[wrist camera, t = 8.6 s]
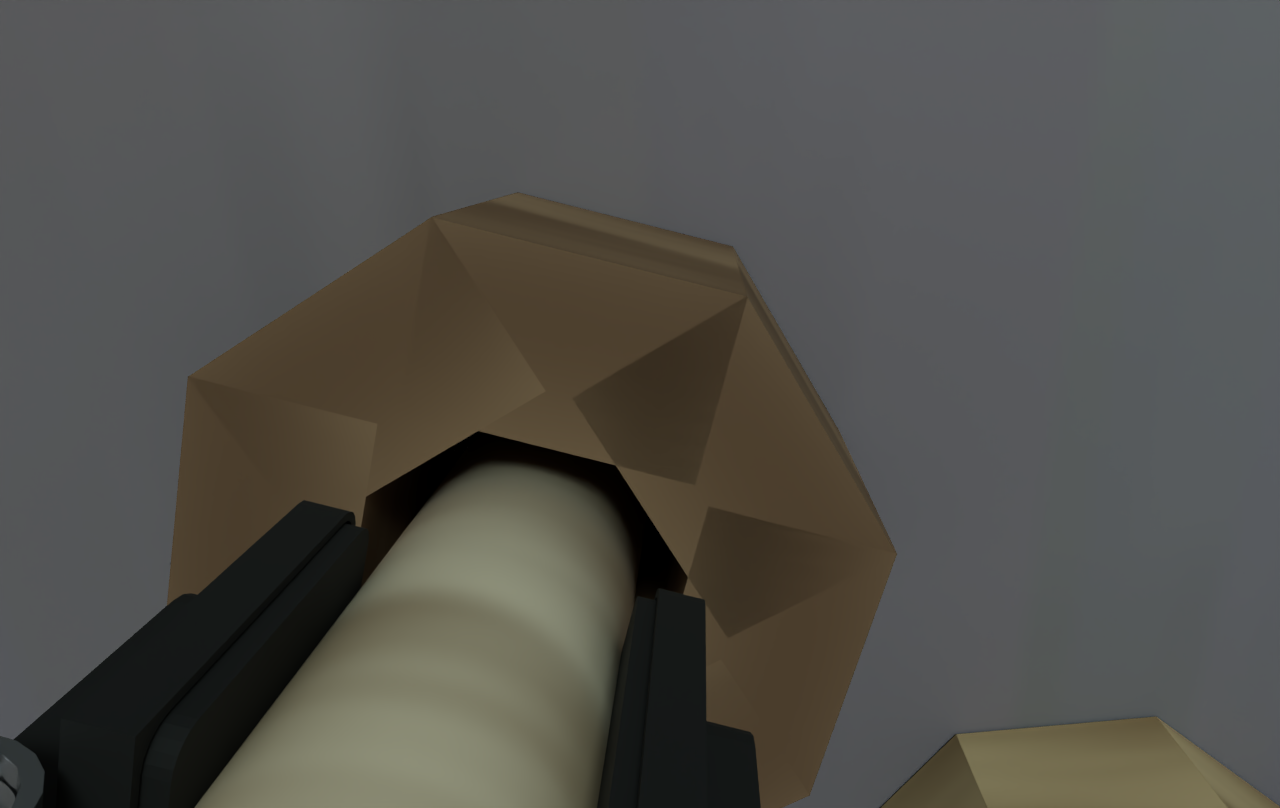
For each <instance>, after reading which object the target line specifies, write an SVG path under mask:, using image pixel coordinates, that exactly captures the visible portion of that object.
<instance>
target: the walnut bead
mask: <svg viewBox="0 0 1280 808" xmlns="http://www.w3.org/2000/svg"><path fill="white" fill-rule="evenodd" d="M477 431H480V432H484V433H488V434H492V435H496V436H500V437H504V438H508V439H512V440H516V441H520V442H524V443H528V444H532V445H536V446H540V447H544V448H548V449H552V450H556V451H560V452H564V453H568V454H572V455H576V456H580V457H584V458H588V459H592V460H596V461H600V462H604V463H608V464H612V465H616V467H617V468H618V470H619V471H620V473H621V474H622V476H623V477H624V479H625V480H626V482H627V484H628V485H629V487H630V488H631V490H632V491H633V493H634V494H635V496H636V497H637V499H638V501H639V502H640V504H641V505H642V507H643V508H644V510H645V511H646V513H647V514H648V516H649V518H650V519H651V521H652V522H653V524H654V525H655V527H656V528H657V530H658V531H659V533H660V535H661V537H659V538H657V539H655V540H653V541H651V542H649V543H648V544H646V545H644V546H642V552H641V559H640V566H639V573H638V580H637V587H636V594H635V601H636V598H637V596H640V597H644V598H648V599H652V600H654V598H655V595H656V592H657V590H658V588H660V589H664V590H668V591H672V592H676V593H680V594H684V595H688V596H692V597H696V598H700V599H704V600H705V604H706V720H707V721H709V722H713V723H717V724H721V725H725V726H729V727H733V728H737V729H741V730H745V731H749V732H751V733H752V734H753V736H754V741H755V748H756V759H757V770H758V781H759V792H760V804H761V808H782V807H785V806H787V805H789V804H791V803H794V802H796V801H798V800H800V799H803V798H805V797H807V796H809V795H810V792H811V790H812V787H813V784H814V781H815V779H816V776H817V773H818V770H819V768H820V765H821V762H822V759H823V757H824V754H825V751H826V748H827V746H828V743H829V740H830V737H831V735H832V732H833V729H834V726H835V723H836V721H837V718H838V715H839V712H840V710H841V707H842V704H843V701H844V699H845V696H846V693H847V690H848V688H849V685H850V682H851V679H852V677H853V674H854V671H855V668H856V665H857V663H858V660H859V657H860V654H861V652H862V649H863V646H864V643H865V641H866V638H867V635H868V632H869V630H870V627H871V624H872V621H873V619H874V616H875V613H876V610H877V607H878V605H879V602H880V599H881V596H882V594H883V591H884V588H885V585H886V583H887V580H888V577H889V574H890V572H891V569H892V566H893V563H894V561H895V558H896V555H897V553H896V551H895V549H894V546H893V544H892V542H891V540H890V538H889V536H888V534H887V532H886V529H885V527H884V525H883V523H882V521H881V519H880V517H879V515H878V512H877V510H876V508H875V506H874V504H873V502H872V500H871V498H870V496H869V493H868V491H867V489H866V487H865V485H864V483H863V481H862V479H861V476H860V474H859V472H858V470H857V468H856V466H855V464H854V462H853V459H852V457H851V455H850V453H849V451H848V449H847V447H846V445H845V442H844V440H843V438H842V436H841V434H840V432H839V430H838V428H837V427H836V425H835V423H834V421H833V420H832V418H831V416H830V414H829V413H828V411H827V409H826V407H825V406H824V404H823V402H822V401H821V399H820V397H819V395H818V394H817V392H816V390H815V388H814V387H813V385H812V383H811V381H810V380H809V378H808V376H807V375H806V373H805V371H804V369H803V368H802V366H801V364H800V362H799V361H798V359H797V357H796V355H795V354H794V352H793V350H792V348H791V347H790V345H789V343H788V342H787V340H786V338H785V336H784V335H783V333H782V331H781V329H780V328H779V326H778V324H777V322H776V321H775V319H774V317H773V316H772V314H771V312H770V310H769V309H768V307H767V305H766V303H765V302H764V300H763V298H762V296H761V295H760V293H759V291H758V290H757V288H756V286H755V284H754V283H753V281H752V279H751V277H750V276H749V274H748V272H747V270H746V269H745V267H744V265H743V264H742V262H741V260H740V258H739V257H738V255H737V253H736V251H735V250H734V248H733V246H728V245H724V244H720V243H716V242H713V241H709V240H705V239H701V238H697V237H693V236H689V235H685V234H681V233H677V232H673V231H669V230H665V229H661V228H657V227H653V226H649V225H645V224H641V223H637V222H633V221H629V220H625V219H621V218H617V217H613V216H609V215H605V214H601V213H597V212H593V211H589V210H585V209H581V208H577V207H573V206H569V205H565V204H561V203H558V202H554V201H550V200H546V199H542V198H538V197H534V196H530V195H526V194H522V193H514V194H511V195H507V196H503V197H500V198H496V199H493V200H489V201H486V202H482V203H479V204H475V205H472V206H468V207H465V208H461V209H458V210H454V211H451V212H447V213H444V214H440V215H437V216H433V217H431V218H430V219H428V220H427V221H425V222H424V223H422V224H421V225H419V226H417V227H416V228H414V229H413V230H411V231H410V232H408V233H407V234H405V235H404V236H402V237H401V238H399V239H398V240H396V241H395V242H393V243H392V244H390V245H388V246H387V247H385V248H384V249H382V250H381V251H379V252H378V253H376V254H375V255H373V256H372V257H370V258H369V259H367V260H366V261H364V262H363V263H361V264H359V265H358V266H356V267H355V268H353V269H352V270H350V271H349V272H347V273H346V274H344V275H343V276H341V277H340V278H338V279H337V280H335V281H334V282H332V283H330V284H329V285H327V286H326V287H324V288H323V289H321V290H320V291H318V292H317V293H315V294H314V295H312V296H311V297H309V298H308V299H306V300H305V301H303V302H301V303H300V304H298V305H297V306H295V307H294V308H292V309H291V310H289V311H288V312H286V313H285V314H283V315H282V316H280V317H279V318H277V319H276V320H274V321H272V322H271V323H269V324H268V325H266V326H265V327H263V328H262V329H260V330H259V331H257V332H256V333H254V334H253V335H251V336H250V337H248V338H247V339H245V340H243V341H242V342H240V343H239V344H237V345H236V346H234V347H233V348H231V349H230V350H228V351H227V352H225V353H224V354H222V355H221V356H219V357H218V358H216V359H214V360H213V361H211V362H210V363H208V364H207V365H205V366H204V367H202V368H201V369H199V370H198V371H196V372H195V373H193V374H192V375H190V376H188V382H187V393H186V404H185V414H184V425H183V436H182V447H181V458H180V469H179V480H178V491H177V502H176V513H175V524H174V535H173V546H172V557H171V568H170V579H169V590H168V601H167V605H168V604H170V603H171V602H172V601H173V600H175V599H176V598H178V597H179V596H181V595H182V594H189V593H193V594H197V595H198V594H199V593H200V592H201V591H202V590H203V589H204V588H206V587H207V586H208V585H209V584H210V583H211V582H212V581H213V580H214V579H216V578H217V577H218V576H219V575H220V574H221V573H222V572H223V571H224V570H225V569H227V568H228V567H229V566H230V565H231V564H232V563H233V562H234V561H235V560H237V559H238V558H239V557H240V556H241V555H242V554H243V553H244V552H245V551H247V550H248V549H249V548H250V547H251V546H252V545H253V544H254V543H255V542H256V541H258V540H259V539H260V538H261V537H262V536H263V535H264V534H265V533H266V532H268V531H269V530H270V529H271V528H272V527H273V526H274V525H275V524H276V523H278V522H279V521H280V520H281V519H282V518H283V517H284V516H285V515H286V514H287V513H289V512H290V511H291V510H292V509H293V508H294V507H295V506H296V505H297V504H299V503H300V502H302V501H303V500H306V501H311V502H315V503H319V504H323V505H327V506H331V507H335V508H339V509H343V510H347V511H351V512H353V513H354V515H355V520H356V525H355V526H358V527H362V528H366V529H368V531H369V540H368V548H367V554H366V560H365V566H364V572H363V578H362V584H361V587H362V586H363V584H364V583H365V582H366V581H367V579H368V578H369V577H370V575H371V574H372V573H373V571H374V570H375V569H376V567H377V566H378V565H379V563H380V562H381V561H382V559H383V558H384V557H385V555H386V554H387V553H388V552H389V550H390V549H391V548H392V546H393V545H394V544H395V542H396V541H397V540H398V538H399V537H400V536H401V534H402V533H403V532H404V530H405V529H406V528H407V526H408V525H409V524H410V523H411V521H412V520H413V519H414V517H415V516H416V515H417V513H418V512H419V511H420V509H421V508H422V507H423V505H424V504H425V503H426V501H427V500H428V499H429V497H430V496H431V495H432V494H433V492H434V491H435V490H436V488H437V487H438V486H439V484H440V483H441V482H442V480H443V479H444V478H445V476H446V475H447V474H448V472H449V471H450V470H451V468H452V463H453V457H454V452H455V447H456V444H457V443H458V442H460V441H462V440H463V439H465V438H467V437H469V436H470V435H472V434H474V433H475V432H477ZM635 601H634V604H635Z"/></svg>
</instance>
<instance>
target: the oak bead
mask: <svg viewBox="0 0 1280 808" xmlns="http://www.w3.org/2000/svg"><path fill="white" fill-rule="evenodd" d="M881 808H1280V806H1278V805H1277V804H1275V803H1274V802H1273V801H1271V800H1270V799H1269V798H1267V797H1266V796H1264V795H1263V794H1262V793H1260V792H1259V791H1258V790H1256V789H1255V788H1253V787H1252V786H1251V785H1249V784H1248V783H1247V782H1245V781H1244V780H1242V779H1241V778H1240V777H1238V776H1237V775H1236V774H1234V773H1233V772H1231V771H1230V770H1229V769H1227V768H1226V767H1225V766H1223V765H1222V764H1221V763H1219V762H1218V761H1216V760H1215V759H1214V758H1212V757H1211V756H1210V755H1208V754H1207V753H1205V752H1204V751H1203V750H1201V749H1200V748H1199V747H1197V746H1196V745H1194V744H1193V743H1192V742H1190V741H1189V740H1188V739H1186V738H1185V737H1183V736H1182V735H1181V734H1179V733H1178V732H1177V731H1175V730H1174V729H1172V728H1171V727H1170V726H1168V725H1167V724H1166V723H1164V722H1163V721H1162V720H1160V719H1159V718H1157V717H1146V718H1135V719H1123V720H1112V721H1101V722H1089V723H1078V724H1067V725H1056V726H1044V727H1033V728H1022V729H1010V730H999V731H988V732H976V733H965V734H956V735H955V736H954V737H953V738H952V739H951V740H950V741H949V742H948V743H947V744H946V745H945V746H944V747H943V748H942V749H940V750H939V751H938V752H937V753H936V754H935V755H934V756H933V757H932V758H931V759H930V760H929V761H928V762H927V763H926V764H925V765H924V766H923V767H922V768H921V769H920V770H919V771H918V772H917V773H916V774H915V775H914V776H913V777H912V778H911V779H910V780H909V781H908V782H907V783H906V784H905V785H904V786H902V787H901V788H900V789H899V790H898V791H897V792H896V793H895V794H894V795H893V796H892V797H891V798H890V799H889V800H888V801H887V802H886V803H885V804H884V805H883V806H882V807H881Z"/></svg>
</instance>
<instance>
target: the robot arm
mask: <svg viewBox="0 0 1280 808" xmlns="http://www.w3.org/2000/svg"><path fill="white" fill-rule="evenodd" d="M355 525H356V520H355V515H354V513H353V512H351V511H347V510H343V509H339V508H335V507H331V506H327V505H323V504H319V503H315V502H311V501H306V500H303V501H302V502H300V503H299V504H297V505H296V506H295V507H294V508H293V509H292V510H291V511H290V512H289V513H287V514H286V515H285V516H284V517H283V518H282V519H281V520H280V521H279V522H278V523H276V524H275V525H274V526H273V527H272V528H271V529H270V530H269V531H268V532H266V533H265V534H264V535H263V536H262V537H261V538H260V539H259V540H258V541H256V542H255V543H254V544H253V545H252V546H251V547H250V548H249V549H248V550H247V551H245V552H244V553H243V554H242V555H241V556H240V557H239V558H238V559H237V560H235V561H234V562H233V563H232V564H231V565H230V566H229V567H228V568H227V569H225V570H224V571H223V572H222V573H221V574H220V575H219V576H218V577H217V578H216V579H214V580H213V581H212V582H211V583H210V584H209V585H208V586H207V587H206V588H204V589H203V590H202V591H201V592H200V593H199V594H198V595H197V594H193V593H189V594H182V595H181V596H179V597H178V598H176V599H175V600H173V601H172V602H171V603H170V604H168V605H167V606H166V607H165V608H164V609H163V610H162V611H160V612H159V613H158V614H157V615H156V616H155V617H154V618H152V619H151V620H150V621H149V622H148V623H147V624H146V625H144V626H143V627H142V628H141V629H140V630H139V631H138V632H136V633H135V634H134V635H133V636H132V637H131V638H130V639H128V640H127V641H126V642H125V643H124V644H123V645H121V646H120V647H119V648H118V649H117V650H116V651H115V652H113V653H112V654H111V655H110V656H109V657H108V658H107V659H105V660H104V661H103V662H102V663H101V664H100V665H99V666H97V667H96V668H95V669H94V670H93V671H92V672H91V673H89V674H88V675H87V676H86V677H85V678H84V679H83V680H81V681H80V682H79V683H78V684H77V685H76V686H74V687H73V688H72V689H71V690H70V691H69V692H68V693H66V694H65V695H64V696H63V697H62V698H61V699H60V700H58V701H57V702H56V703H55V704H54V705H53V706H52V707H50V708H49V709H48V710H47V711H46V712H45V713H44V714H42V715H41V716H40V717H39V718H38V719H37V720H36V721H34V722H33V723H32V724H31V725H30V726H29V727H27V728H26V729H25V730H24V731H23V732H22V733H21V734H19V735H18V736H17V737H16V738H15V739H14V740H12V739H9V738H6V737H2V736H0V808H194V807H195V806H196V805H197V803H198V802H199V801H200V799H201V798H202V797H203V795H204V794H205V793H206V791H207V790H208V789H209V787H210V786H211V785H212V783H213V782H214V781H215V780H216V778H217V777H218V776H219V774H220V773H221V772H222V770H223V769H224V768H225V766H226V765H227V764H228V762H229V761H230V760H231V758H232V757H233V756H234V754H235V753H236V752H237V751H238V749H239V748H240V747H241V745H242V744H243V743H244V741H245V740H246V739H247V737H248V736H249V735H250V733H251V732H252V731H253V729H254V728H255V727H256V726H257V724H258V723H259V722H260V720H261V719H262V718H263V716H264V715H265V714H266V712H267V711H268V710H269V708H270V707H271V706H272V704H273V703H274V702H275V700H276V699H277V698H278V697H279V695H280V694H281V693H282V691H283V690H284V689H285V687H286V686H287V685H288V683H289V682H290V681H291V679H292V678H293V677H294V675H295V674H296V673H297V671H298V670H299V669H300V668H301V666H302V665H303V664H304V662H305V661H306V660H307V658H308V657H309V656H310V654H311V653H312V652H313V650H314V649H315V648H316V646H317V645H318V644H319V642H320V641H321V640H322V639H323V637H324V636H325V635H326V633H327V632H328V631H329V629H330V628H331V627H332V625H333V624H334V623H335V621H336V620H337V619H338V617H339V616H340V615H341V613H342V612H343V611H344V610H345V608H346V607H347V606H348V604H349V603H350V602H351V600H352V599H353V598H354V596H355V595H356V594H357V592H358V591H359V590H360V588H361V584H362V578H363V572H364V566H365V560H366V554H367V548H368V540H369V531H368V529H366V528H362V527H358V526H355ZM597 808H761V804H760V792H759V781H758V770H757V759H756V748H755V741H754V736H753V734H752V733H751V732H749V731H745V730H741V729H737V728H733V727H729V726H725V725H721V724H717V723H713V722H709V721H707V720H706V604H705V600H704V599H700V598H696V597H692V596H688V595H684V594H680V593H676V592H672V591H668V590H664V589H660V588H658V590H657V592H656V595H655V598H654V600H652V599H648V598H644V597H640V596H637V598H636V601H635V604H634V607H633V611H632V615H631V618H630V622H629V626H628V630H627V633H626V637H625V641H624V644H623V648H622V652H621V657H620V664H619V670H618V677H617V683H616V689H615V696H614V702H613V709H612V715H611V721H610V728H609V734H608V740H607V747H606V753H605V760H604V766H603V772H602V779H601V785H600V792H599V798H598V804H597Z"/></svg>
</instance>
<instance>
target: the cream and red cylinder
mask: <svg viewBox="0 0 1280 808" xmlns="http://www.w3.org/2000/svg"><path fill="white" fill-rule="evenodd" d="M646 517H647V513H646V511H645V510H644V508H643V507H642V505H641V504H640V502H639V501H638V499H637V497H636V496H635V494H634V493H633V491H632V490H631V488H630V487H629V485H628V484H627V482H626V480H625V479H624V477H623V476H622V474H621V473H620V471H619V470H618V468H617V467H616V465H612V464H608V463H604V462H600V461H596V460H592V459H588V458H584V457H580V456H576V455H572V454H568V453H564V452H560V451H556V450H552V449H548V448H544V447H540V446H536V445H532V444H528V443H524V442H520V441H516V440H512V439H508V438H504V437H500V436H496V435H492V434H488V433H484V432H479V433H478V435H477V436H476V437H475V438H474V440H473V441H472V442H471V443H470V445H469V446H468V447H467V449H466V450H465V451H464V453H463V454H462V455H461V457H460V458H459V459H458V461H457V462H456V463H455V465H454V466H453V467H452V468H451V470H450V471H449V472H448V474H447V475H446V476H445V478H444V479H443V480H442V482H441V483H440V484H439V486H438V487H437V488H436V490H435V491H434V492H433V494H432V495H431V496H430V497H429V499H428V500H427V501H426V503H425V504H424V505H423V507H422V508H421V509H420V511H419V512H418V513H417V515H416V516H415V517H414V519H413V520H412V521H411V523H410V524H409V525H408V526H407V528H406V529H405V530H404V532H403V533H402V534H401V536H400V537H399V538H398V540H397V541H396V542H395V544H394V545H393V546H392V548H391V549H390V550H389V552H388V553H387V554H386V555H385V557H384V558H383V559H382V561H381V562H380V563H379V565H378V566H377V567H376V569H375V570H374V571H373V573H372V574H371V575H370V577H369V578H368V579H367V581H366V582H365V583H364V584H363V586H362V587H361V588H360V590H359V591H358V592H357V594H356V595H355V596H354V598H353V599H352V600H351V602H350V603H349V604H348V606H347V607H346V608H345V610H344V611H343V612H342V613H341V615H340V616H339V617H338V619H337V620H336V621H335V623H334V624H333V625H332V627H331V628H330V629H329V631H328V632H327V633H326V635H325V636H324V637H323V639H322V640H321V641H320V642H319V644H318V645H317V646H316V648H315V649H314V650H313V652H312V653H311V654H310V656H309V657H308V658H307V660H306V661H305V662H304V664H303V665H302V666H301V668H300V669H299V670H298V671H297V673H296V674H295V675H294V677H293V678H292V679H291V681H290V682H289V683H288V685H287V686H286V687H285V689H284V690H283V691H282V693H281V694H280V695H279V697H278V698H277V699H276V700H275V702H274V703H273V704H272V706H271V707H270V708H269V710H268V711H267V712H266V714H265V715H264V716H263V718H262V719H261V720H260V722H259V723H258V724H257V726H256V727H255V728H254V729H253V731H252V732H251V733H250V735H249V736H248V737H247V739H246V740H245V741H244V743H243V744H242V745H241V747H240V748H239V749H238V751H237V752H236V753H235V754H234V756H233V757H232V758H231V760H230V761H229V762H228V764H227V765H226V766H225V768H224V769H223V770H222V772H221V773H220V774H219V776H218V777H217V778H216V780H215V781H214V782H213V783H212V785H211V786H210V787H209V789H208V790H207V791H206V793H205V794H204V795H203V797H202V798H201V799H200V801H199V802H198V803H197V805H196V806H195V807H194V808H597V804H598V798H599V792H600V785H601V779H602V772H603V766H604V760H605V753H606V747H607V740H608V734H609V728H610V721H611V715H612V709H613V702H614V696H615V689H616V683H617V677H618V670H619V664H620V657H621V652H622V648H623V644H624V641H625V637H626V633H627V630H628V626H629V622H630V618H631V615H632V611H633V607H634V601H635V594H636V587H637V580H638V573H639V566H640V559H641V552H642V545H643V538H644V531H645V524H646Z"/></svg>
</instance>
